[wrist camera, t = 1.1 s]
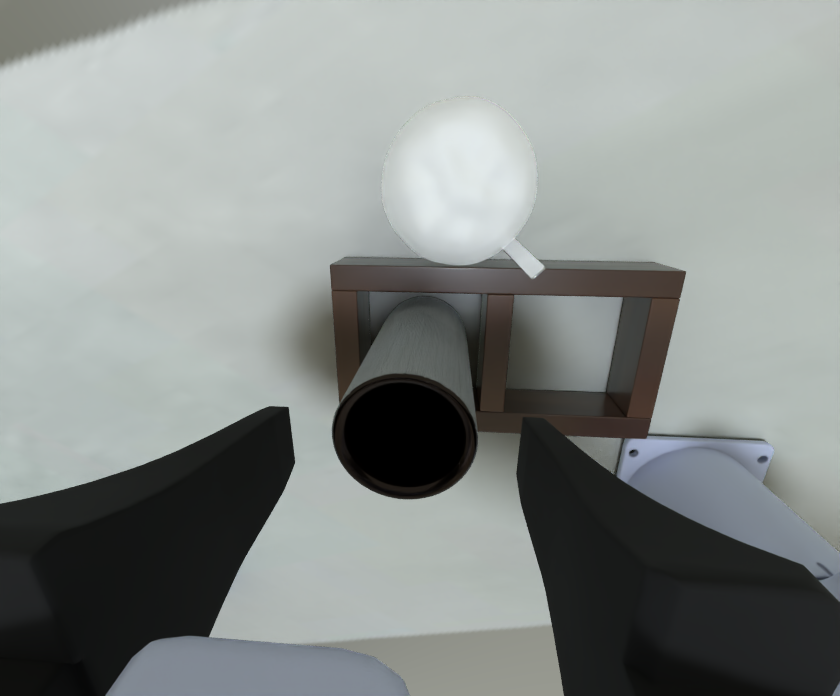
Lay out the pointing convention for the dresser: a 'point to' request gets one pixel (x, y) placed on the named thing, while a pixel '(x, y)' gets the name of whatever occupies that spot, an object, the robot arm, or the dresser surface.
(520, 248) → the milkshake
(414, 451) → the grey hollow cylinder
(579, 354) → the dresser surface
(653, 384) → the holder
